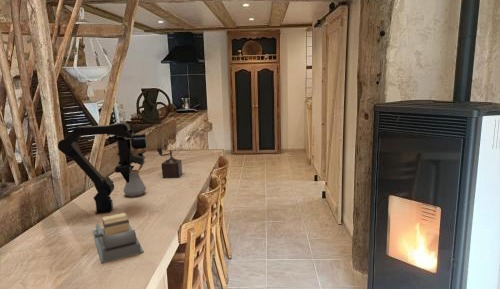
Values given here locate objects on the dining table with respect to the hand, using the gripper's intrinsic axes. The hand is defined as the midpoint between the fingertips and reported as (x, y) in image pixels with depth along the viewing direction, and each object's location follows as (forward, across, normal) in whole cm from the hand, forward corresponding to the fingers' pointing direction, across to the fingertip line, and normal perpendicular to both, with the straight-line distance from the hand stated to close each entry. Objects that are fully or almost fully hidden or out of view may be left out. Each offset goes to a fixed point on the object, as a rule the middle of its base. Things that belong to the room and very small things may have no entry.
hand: (128, 182), depth 166 cm
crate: (+12, -38, -2) cm, 40 cm away
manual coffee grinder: (+13, +54, -13) cm, 57 cm away
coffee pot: (+13, +26, 0) cm, 29 cm away
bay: (+13, -35, -1) cm, 38 cm away
